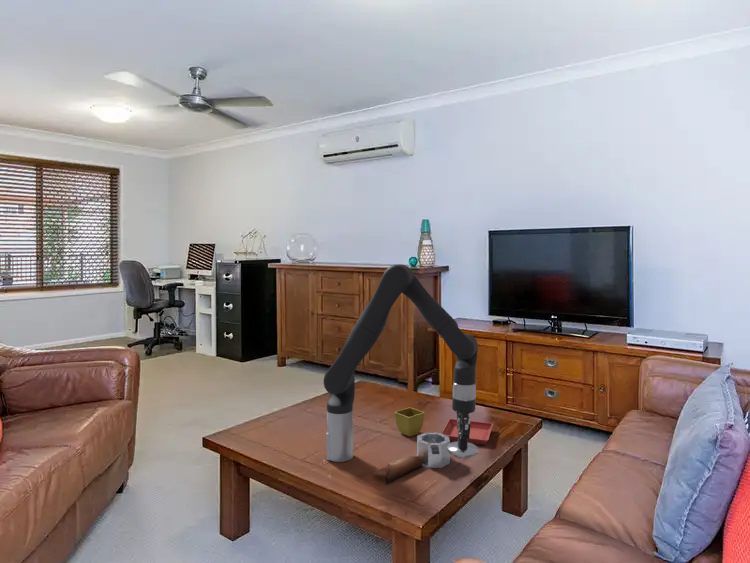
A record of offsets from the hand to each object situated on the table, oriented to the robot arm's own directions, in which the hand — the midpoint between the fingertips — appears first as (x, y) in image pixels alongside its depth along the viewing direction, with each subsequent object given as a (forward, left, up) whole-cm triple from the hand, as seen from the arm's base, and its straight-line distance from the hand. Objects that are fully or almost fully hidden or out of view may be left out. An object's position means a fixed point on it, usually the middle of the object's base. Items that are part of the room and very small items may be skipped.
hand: (462, 446), depth 165 cm
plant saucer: (+7, +33, -10) cm, 35 cm away
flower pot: (-16, +35, -9) cm, 39 cm away
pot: (-9, +10, -9) cm, 16 cm away
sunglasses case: (-22, +2, -10) cm, 24 cm away
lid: (0, 0, -3) cm, 3 cm away
